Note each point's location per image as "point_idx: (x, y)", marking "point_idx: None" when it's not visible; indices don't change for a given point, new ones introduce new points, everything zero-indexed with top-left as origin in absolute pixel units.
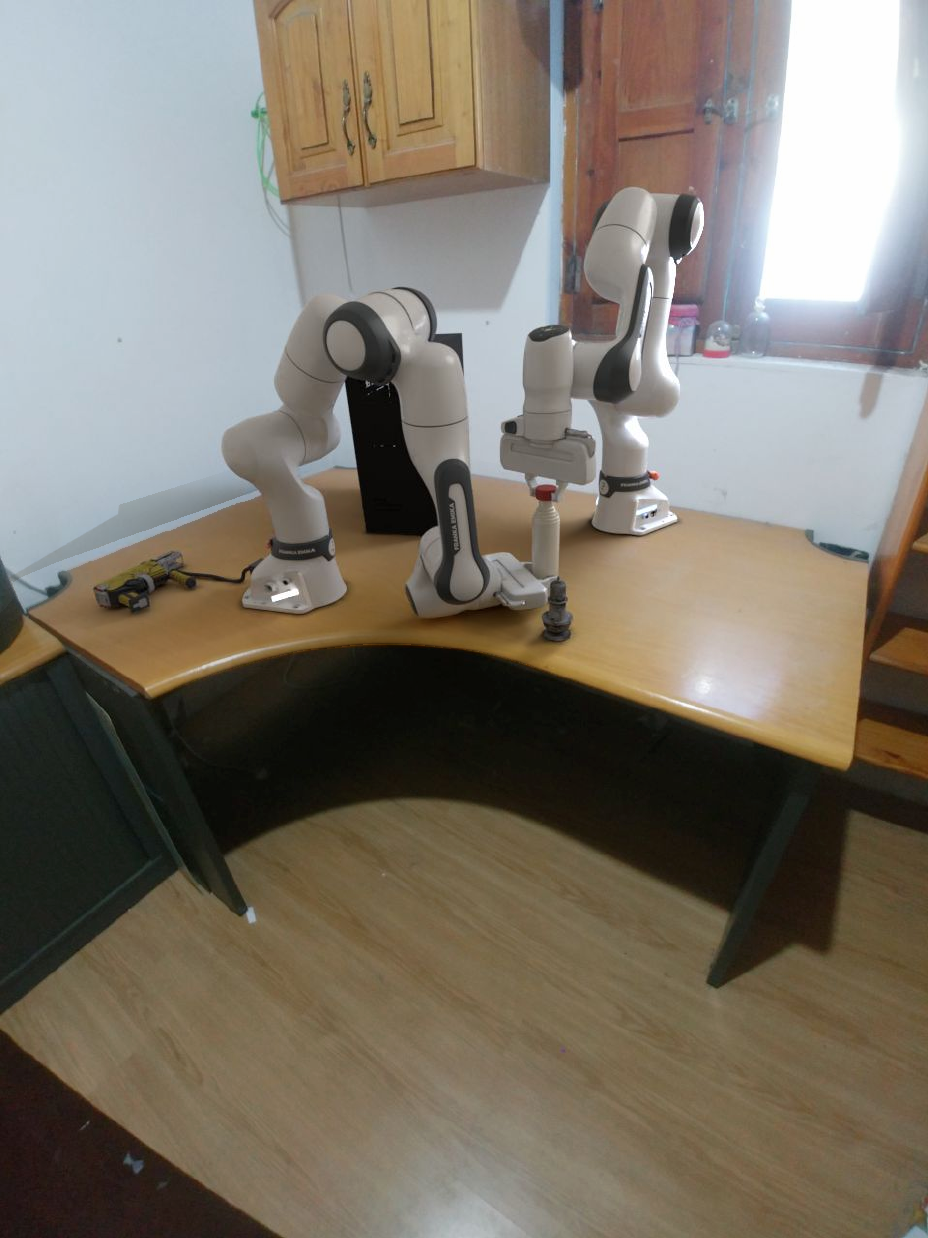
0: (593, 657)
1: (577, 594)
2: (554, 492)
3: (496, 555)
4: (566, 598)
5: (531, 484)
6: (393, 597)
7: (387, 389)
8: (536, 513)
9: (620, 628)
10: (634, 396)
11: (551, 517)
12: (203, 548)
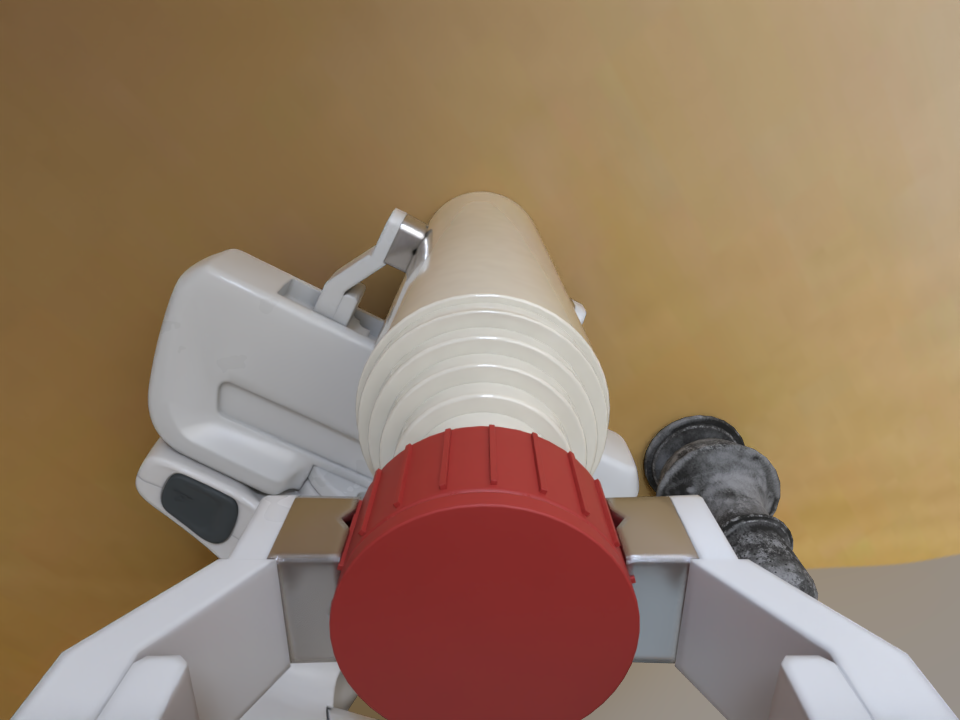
0: (864, 493)
1: (595, 144)
2: (648, 634)
3: (188, 358)
4: (786, 537)
5: (248, 694)
6: (51, 603)
7: None
8: None
9: (884, 286)
10: None
11: None
12: None
